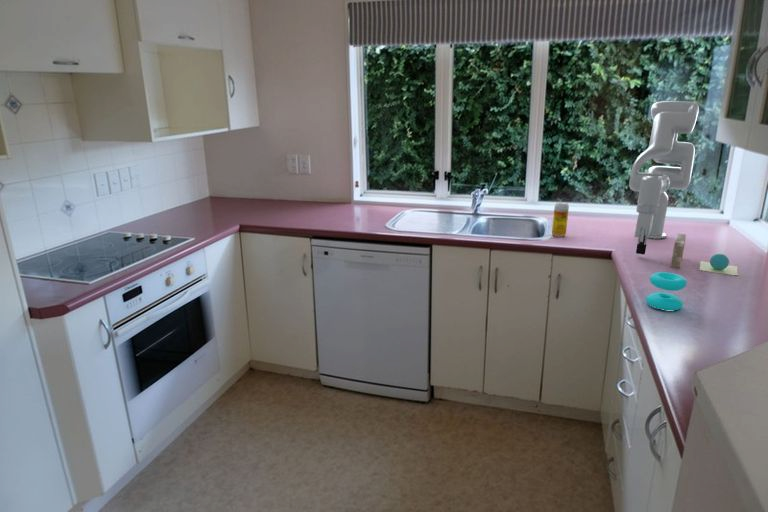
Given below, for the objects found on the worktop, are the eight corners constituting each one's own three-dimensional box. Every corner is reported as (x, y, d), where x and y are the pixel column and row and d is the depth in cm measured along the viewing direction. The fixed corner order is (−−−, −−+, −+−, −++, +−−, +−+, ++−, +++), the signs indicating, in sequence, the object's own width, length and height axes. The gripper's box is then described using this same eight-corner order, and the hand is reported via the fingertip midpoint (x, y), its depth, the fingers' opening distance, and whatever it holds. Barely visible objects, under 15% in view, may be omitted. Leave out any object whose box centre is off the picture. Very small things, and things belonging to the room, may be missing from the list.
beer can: (556, 237, 240) (560, 205, 235) (549, 234, 246) (552, 202, 241) (568, 236, 242) (571, 204, 237) (560, 233, 247) (564, 201, 243)
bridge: (670, 267, 201) (674, 242, 198) (673, 256, 213) (677, 233, 210) (679, 268, 199) (683, 243, 196) (682, 257, 212) (686, 234, 209)
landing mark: (700, 261, 207) (700, 261, 207) (737, 266, 201) (737, 266, 201) (699, 270, 197) (699, 269, 197) (737, 276, 191) (737, 275, 191)
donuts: (680, 271, 166) (692, 283, 156) (675, 301, 169) (686, 314, 159) (646, 270, 167) (656, 280, 158) (641, 299, 170) (651, 311, 161)
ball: (732, 256, 197) (725, 270, 199) (715, 250, 200) (708, 264, 202) (730, 259, 192) (723, 273, 195) (713, 252, 195) (706, 267, 198)
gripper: (639, 204, 215) (632, 247, 220) (634, 211, 202) (627, 256, 208) (660, 206, 211) (652, 250, 216) (656, 213, 199) (648, 260, 204)
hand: (640, 253), depth 212 cm, fingers closed
